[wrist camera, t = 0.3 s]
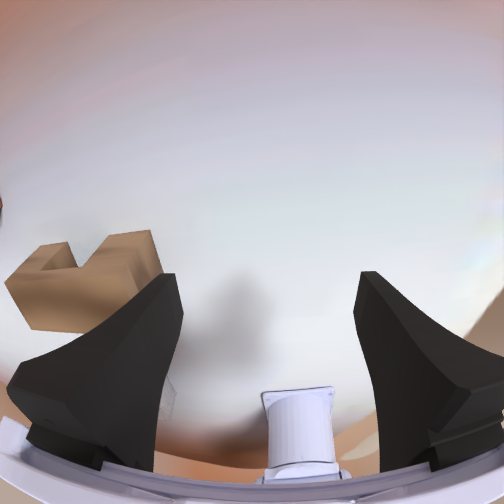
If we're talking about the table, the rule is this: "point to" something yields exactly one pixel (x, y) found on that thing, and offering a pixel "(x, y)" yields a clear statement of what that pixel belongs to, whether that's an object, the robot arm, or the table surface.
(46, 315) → the walnut block
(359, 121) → the table surface
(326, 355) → the table surface
